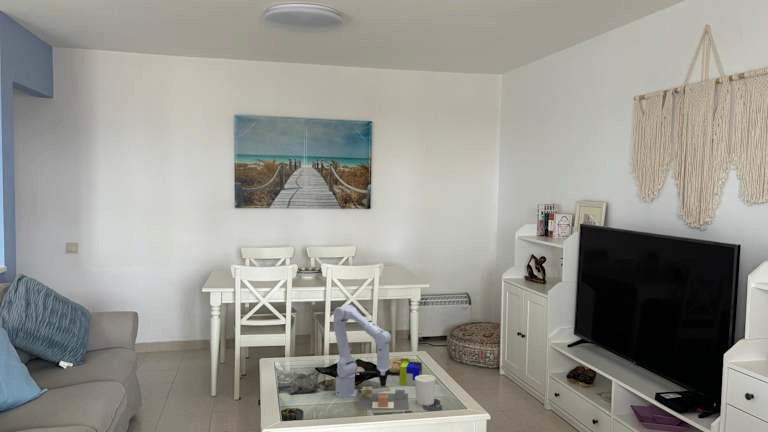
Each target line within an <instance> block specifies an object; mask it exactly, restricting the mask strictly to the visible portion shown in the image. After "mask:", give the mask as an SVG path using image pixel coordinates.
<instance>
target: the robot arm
mask: <svg viewBox="0 0 768 432" xmlns="http://www.w3.org/2000/svg"><path fill="white" fill-rule="evenodd" d="M332 315H333V320H332V321H333V322H332V323H333V328H334V333H335V339H336V345H337V351H338V356H339V360H338V361H337V363H336V365H337V368H336V372H337V375H338V376H336V377H335V397H338V398H339V397H341V398H345V397H346V398H349V397H350V398H353V397H354V398H355V397H356V393H357V391H356V389H355V388H356V387H355V386H356V382H355V378H356V374H357V372H358V369H359V368H358V364H357V363H356V360H355V358H354V357H353V356H352V354H351V349H350V343H349V339H348V334H347V329H346V324H347V322H348V321H349V320H353V321H354V322H356V323H357V324H358V325H360V326H361V327H363V328H364V332H365V333H366V334H367V335H369V336H370V337H371V338H372V339H373V340H374V343H375V344H376V352H377V353H376V369H377V372H376V375H378V379H379V384H380V387H386V385H387V378H388V376H389V373H390V371H389V370H388V369H391V368H392V366H389V360H390V342H392V337H393V336H392V334H391V332H389V331H388V330H384V329H382V328H380V326H379V325H377V323H376V322H375V321H374V322H372V321H370V322H369V321H368V320H367V319H366V318H365V317H364V316H363V315H362V314H361V313H360V312H359V311H358V310H357V307H356V306H355V307H354V305H352V304H347V305H343V306H338V307H336V308H335V309H334V311H333V312H332Z"/></svg>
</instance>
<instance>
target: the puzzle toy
mask: <svg viewBox="0 0 768 432" xmlns="http://www.w3.org/2000/svg"><path fill="white" fill-rule="evenodd" d="M422 365H423V363H422V362H421V361H415V362H414V361H410V362H407V361H403V363H402V364H401V366H400V373H399V385H400V386H409V387H411V386H412V387H416V385H415V377H416V376H419V375H423V373H422V371H423V368H422V367H423V366H422Z"/></svg>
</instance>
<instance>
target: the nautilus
mask: <svg viewBox="0 0 768 432" xmlns="http://www.w3.org/2000/svg"><path fill="white" fill-rule="evenodd" d="M403 361H407V362H416V360H414V359H412V358H411V359H410V358H408V357H404V356H401V357H397V356H395V357H393V358H389V366H392V368H391V369H388V370H389V373H393V374H396V373H397V374H398V373H399V374H400V366H401V364H402V363H403ZM397 374H396V375H397Z"/></svg>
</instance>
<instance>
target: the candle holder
mask: <svg viewBox="0 0 768 432" xmlns="http://www.w3.org/2000/svg"><path fill="white" fill-rule="evenodd" d="M436 380H437V379H436V376H434V375H431V374H422V375H419V376H416V377H415V385H416V386H415V399H416V404H417V405H420V406H431V405H434V403H435V392H436V391H435V390H436Z"/></svg>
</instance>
